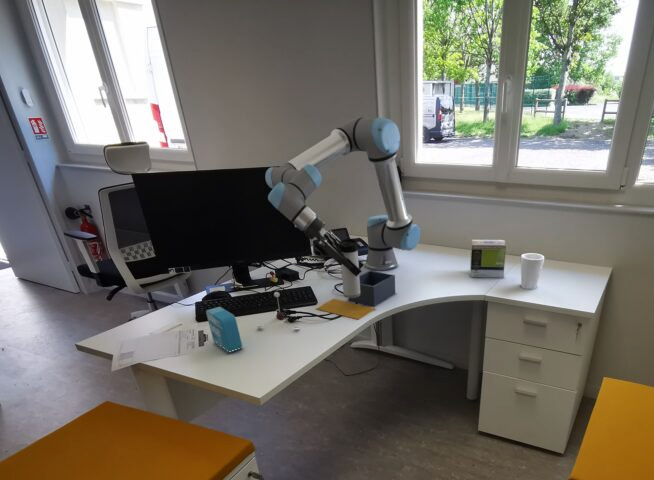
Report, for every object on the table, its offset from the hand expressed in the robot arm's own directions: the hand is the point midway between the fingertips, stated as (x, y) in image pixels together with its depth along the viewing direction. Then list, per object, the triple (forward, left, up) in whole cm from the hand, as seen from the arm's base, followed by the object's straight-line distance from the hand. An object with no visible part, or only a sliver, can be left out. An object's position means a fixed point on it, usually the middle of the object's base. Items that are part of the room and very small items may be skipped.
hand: (360, 270), depth 164 cm
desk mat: (-7, -2, -16) cm, 17 cm away
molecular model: (-19, -26, -16) cm, 36 cm away
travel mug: (-3, -2, -10) cm, 10 cm away
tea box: (+25, +63, -16) cm, 70 cm away
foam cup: (+47, +57, -16) cm, 75 cm away
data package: (-22, -45, -16) cm, 53 cm away
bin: (-5, +14, -16) cm, 22 cm away
